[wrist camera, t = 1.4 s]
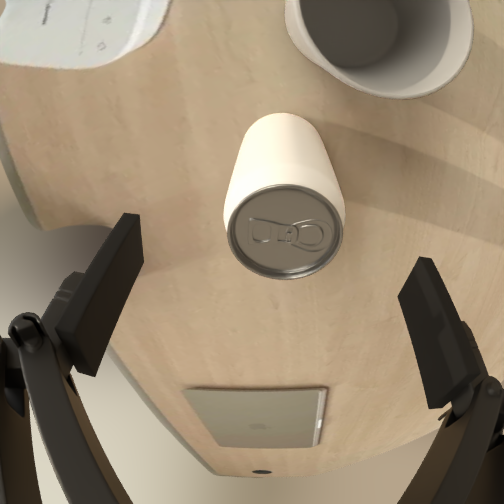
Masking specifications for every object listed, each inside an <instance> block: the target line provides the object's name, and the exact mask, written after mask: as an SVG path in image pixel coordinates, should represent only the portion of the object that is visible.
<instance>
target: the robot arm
mask: <svg viewBox="0 0 504 504" xmlns="http://www.w3.org/2000/svg"><path fill="white" fill-rule="evenodd" d="M143 263H144V257H143V247H142V237H141V226H140V215H138V214H130V213H124V214H123V215H122V217H121V218H120V220H119V221H118V222H117V224H116V225H115V227H114V228H113V230H112V231H111V233H110V234H109V236H108V238H107V239H106V240H105V242H104V243H103V245H102V247H101V248H100V250H99V251H98V253H97V254H96V256H95V257H94V259H93V261H92V262H91V264H90V266H89V267H88V269H87V270H86V272H85V274H84V273H79V272H73V273H72V274H71V275H69V276H68V277H67V278H66V279H65V280H64V281H63V283H62V284H61V286H60V288H59V291H57V292H56V294H55V296H54V299H52V301H51V302H50V304H49V306H48V307H47V309H46V311H45V313H44V314H43V316H42V318H41V320H40V318H39V316H37V315H36V314H35V313H30V312H26V313H22V314H20V315H18V316H16V317H15V318H14V319H13V321H11V324H10V326H9V329H8V334H9V336H10V337H11V338H2V337H1V336H0V504H42V500H41V495H40V490H39V485H38V480H37V474H36V467H35V461H34V453H33V446H32V437H31V436H32V435H31V425H30V410H29V400H30V403H31V407H32V410H33V414H34V417H35V420H36V423H37V426H38V429H39V432H40V435H41V438H42V441H43V444H44V446H45V449H46V452H47V454H48V457H49V460H50V462H51V465H52V467H53V469H54V472H55V474H56V477H57V479H58V481H59V483H60V485H61V488H62V490H63V492H64V494H65V496H66V498H67V500H68V502H69V504H133V502H132V501H131V500H130V497H129V496H128V494H127V493H126V491H125V489H124V487H123V486H122V484H121V482H120V481H119V479H118V477H117V475H116V473H115V471H114V470H113V468H112V466H111V464H110V462H109V460H108V458H107V456H106V454H105V453H104V450H103V448H102V446H101V444H100V442H99V440H98V438H97V436H96V434H95V431H94V429H93V427H92V425H91V423H90V420H89V418H88V416H87V413H86V411H85V409H84V407H83V404H82V401H81V399H80V396H79V394H78V391H77V389H76V386H75V383H74V381H73V378H72V375H71V374H70V371H71V369H72V366H73V365H74V366H75V368H76V370H77V372H79V373H83V374H86V375H89V376H92V377H95V376H96V374H97V371H98V368H99V366H100V363H101V360H102V358H103V355H104V353H105V350H106V348H107V345H108V343H109V340H110V338H111V335H112V333H113V331H114V328H115V326H116V323H117V321H118V319H119V316H120V314H121V312H122V309H123V307H124V305H125V303H126V300H127V298H128V296H129V293H130V291H131V289H132V287H133V285H134V282H135V280H136V278H137V276H138V274H139V272H140V269H141V267H142V265H143ZM397 297H398V300H399V303H400V306H401V309H402V312H403V315H404V318H405V321H406V325H407V328H408V331H409V334H410V338H411V341H412V345H413V348H414V352H415V355H416V359H417V363H418V367H419V370H420V374H421V378H422V382H423V386H424V390H425V395H426V399H427V403H428V408H429V409H436V408H443V407H444V406H445V405H446V404H448V403H449V402H450V401H451V404H452V407H451V408H450V409H449V410H447V411H446V412H445V413H444V414H442V415H441V416H440V417H439V419H438V420H439V421H440V420H441V419H442V418H444V417H445V418H444V421H443V422H442V425H441V427H440V429H439V431H438V433H437V435H436V437H435V440H434V441H433V444H432V445H431V447H430V449H429V451H428V453H427V455H426V457H425V458H424V460H423V462H422V464H421V466H420V467H419V469H418V471H417V473H416V474H415V476H414V478H413V479H412V481H411V483H410V484H409V486H408V487H407V489H406V491H405V492H404V494H403V495H402V497H401V499H400V500H399V501H398V503H397V504H504V435H503V429H504V389H503V388H502V385H501V384H500V382H499V381H498V380H497V379H496V378H494V377H492V376H489V375H488V372H487V369H486V367H485V364H484V361H483V358H482V356H481V353H480V351H479V349H478V346H477V343H476V341H475V338H474V336H473V333H472V331H471V329H470V328H469V327H468V325H467V324H466V323H465V321H461V320H460V317H459V315H458V313H457V311H456V308H455V306H454V304H453V302H452V299H451V297H450V295H449V293H448V291H447V289H446V287H445V284H444V282H443V280H442V278H441V276H440V274H439V272H438V270H437V268H436V266H435V264H434V262H433V260H432V259H431V258H426V257H420V256H419V258H418V260H417V262H416V264H415V266H414V267H413V269H412V271H411V273H410V275H409V277H408V279H407V280H406V282H405V284H404V286H403V288H402V289H401V291H400V293H399V295H398V296H397Z"/></svg>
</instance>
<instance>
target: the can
mask: <svg viewBox="0 0 504 504" xmlns="http://www.w3.org/2000/svg"><path fill="white" fill-rule="evenodd" d="M345 218H346V212H345V204H344V200H343V196H342V193H341V190H340V187H339V184H338V181H337V178H336V176H335V173H334V170H333V167H332V165H331V162H330V160H329V157H328V154H327V152H326V149H325V147H324V144H323V142H322V140H321V137H320V135H319V133H318V132H317V130H316V129H315V128H314V127H313V126H312V125H311V124H310V123H309V122H308V121H307V120H305V119H303V118H301V117H299V116H297V115H294V114H289V113H275V114H270V115H267V116H265V117H263V118H261V119H259V120H258V121H256V122H255V123H254V124H253V125H252V126H251V127H250V128H249V129H248V131H247V133H246V134H245V136H244V139H243V142H242V145H241V148H240V151H239V154H238V157H237V161H236V164H235V168H234V171H233V174H232V178H231V181H230V185H229V189H228V192H227V196H226V200H225V205H224V224H225V228H226V231H227V238H228V243H229V246H230V248H231V251H232V252H233V254H234V256H235V257H236V258H237V260H238V261H239V262H240V263H241V264H242V265H243V266H245V267H246V268H247V269H249V270H250V271H252V272H254V273H256V274H258V275H261V276H264V277H267V278H271V279H278V280H292V279H299V278H303V277H306V276H309V275H312V274H314V273H316V272H318V271H319V270H321V269H322V268H324V267H325V266H326V265H328V264H329V263H330V262H331V261H332V259H333V258H334V257H335V256H336V254H337V252H338V251H339V248H340V246H341V243H342V238H343V229H344V225H345Z"/></svg>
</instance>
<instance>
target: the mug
mask: <svg viewBox="0 0 504 504" xmlns="http://www.w3.org/2000/svg"><path fill="white" fill-rule="evenodd" d="M285 24H286V28H287V31H288V33H289V36H290V38H291V40H292V41H293V43H294V44H295V46H296V47H297V48H298V50H299V51H300V52H301V53H302V54H303V55H304V56H305V57H307V58H308V59H309V60H311V61H312V62H314V63H315V64H317V65H318V66H320V67H322V68H323V69H325V70H326V71H327V72H329V73H330V74H331V75H333V76H334V77H336V78H337V79H339V80H340V81H342V82H343V83H345V84H347V85H349V86H351V87H353V88H354V89H356V90H359V91H361V92H364V93H366V94H369V95H373V96H377V97H380V98H387V99H398V100H405V99H415V98H419V97H424V96H427V95H429V94H432V93H435V92H436V91H438V90H440V89H442V88H444V87H445V86H446V85H448V84H449V83H450V82H452V81H453V79H454V78H455V77H456V76H457V75H458V74H459V73H460V71H461V70H462V69H463V67H464V65H465V64H466V62H467V60H468V57H469V55H470V52H471V49H472V44H473V37H474V22H473V15H472V10H471V6H470V3H469V0H286V4H285Z"/></svg>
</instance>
